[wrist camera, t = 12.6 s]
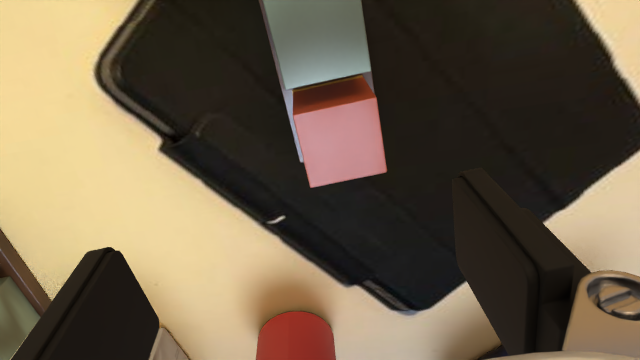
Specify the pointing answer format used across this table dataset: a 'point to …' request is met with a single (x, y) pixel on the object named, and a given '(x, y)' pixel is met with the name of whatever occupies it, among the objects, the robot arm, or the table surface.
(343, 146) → the coral pink cube
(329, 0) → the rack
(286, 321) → the beer can
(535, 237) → the robot arm
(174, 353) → the coffee box
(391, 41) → the table surface
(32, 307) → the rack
